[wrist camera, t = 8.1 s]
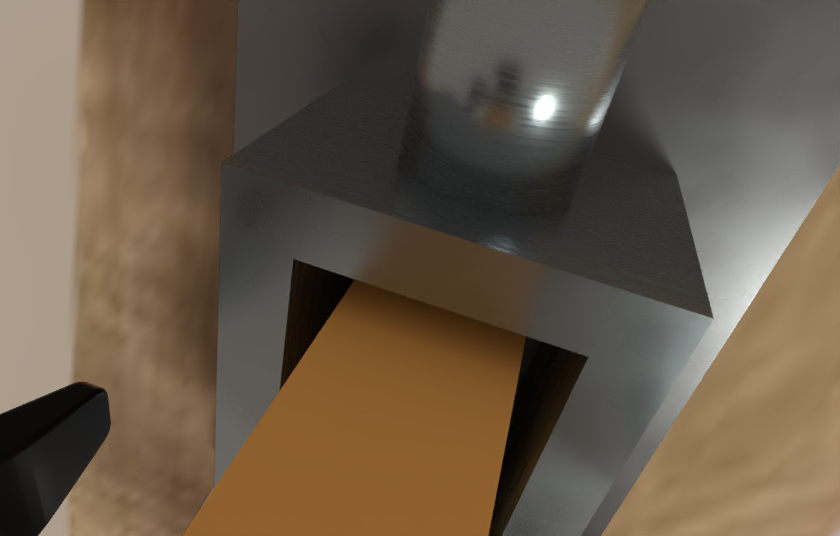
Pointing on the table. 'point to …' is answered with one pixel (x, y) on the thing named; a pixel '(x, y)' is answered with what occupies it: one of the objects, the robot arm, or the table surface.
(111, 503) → the table surface
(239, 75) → the bracket
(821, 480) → the table surface
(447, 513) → the orange rectangular prism
